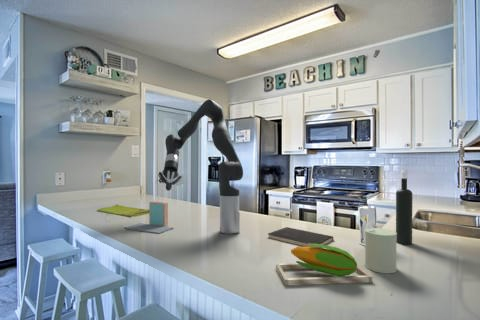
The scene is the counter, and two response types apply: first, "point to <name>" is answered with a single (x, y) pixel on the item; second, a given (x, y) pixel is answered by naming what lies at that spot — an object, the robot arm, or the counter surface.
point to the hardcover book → (300, 237)
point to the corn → (326, 259)
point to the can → (380, 250)
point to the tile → (158, 213)
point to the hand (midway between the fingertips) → (168, 189)
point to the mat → (149, 228)
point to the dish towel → (124, 211)
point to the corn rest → (320, 280)
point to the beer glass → (366, 220)
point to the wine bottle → (404, 212)
